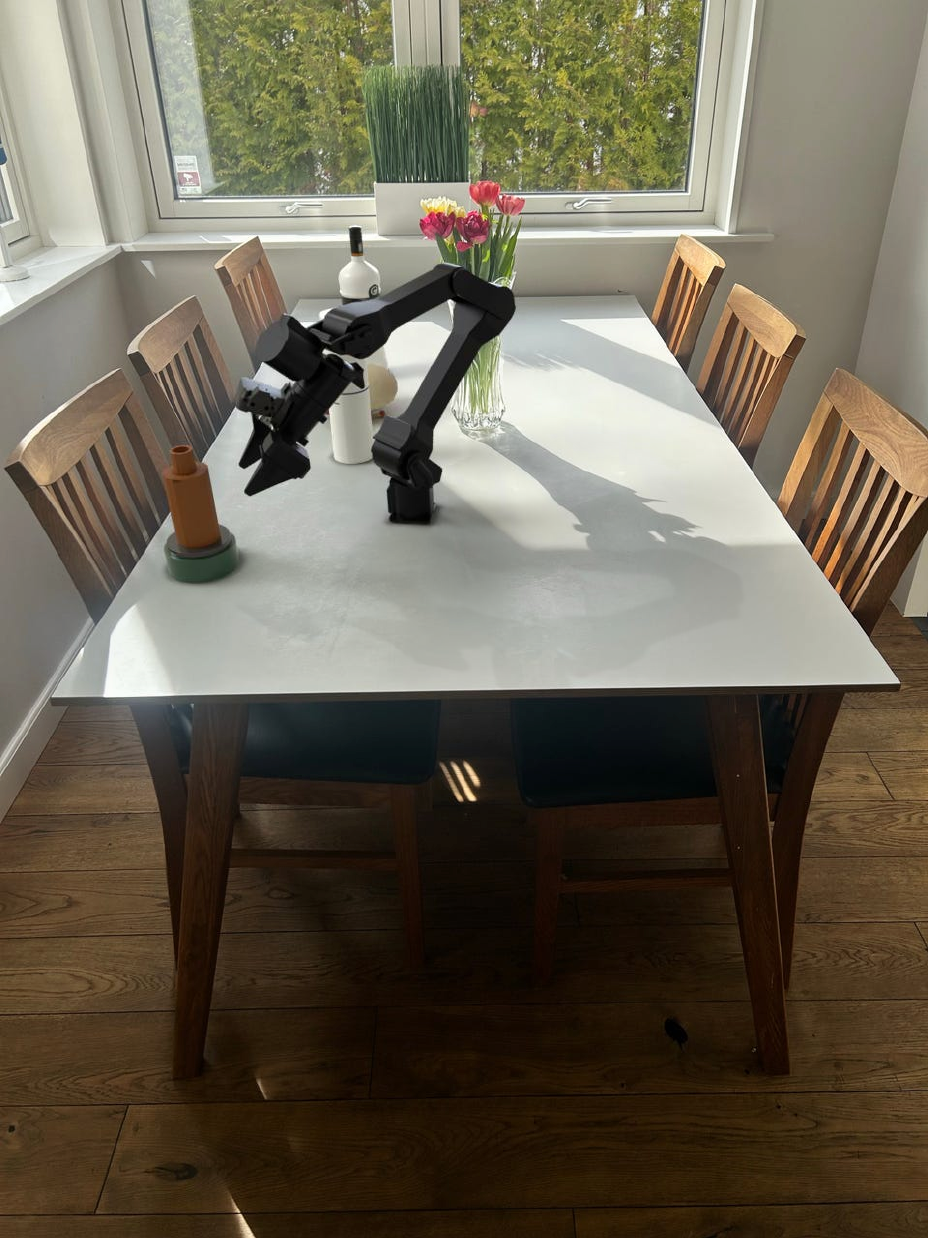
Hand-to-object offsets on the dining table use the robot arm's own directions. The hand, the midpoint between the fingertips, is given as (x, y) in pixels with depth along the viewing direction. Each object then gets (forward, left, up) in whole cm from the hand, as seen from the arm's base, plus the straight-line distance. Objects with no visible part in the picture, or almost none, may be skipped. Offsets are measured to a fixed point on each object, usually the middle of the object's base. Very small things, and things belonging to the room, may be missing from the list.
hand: (243, 480), depth 132 cm
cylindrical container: (-5, -37, -12) cm, 39 cm away
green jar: (+7, +3, -12) cm, 14 cm away
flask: (0, -56, -12) cm, 57 cm away
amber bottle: (+7, +3, -8) cm, 11 cm away
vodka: (+3, -79, -12) cm, 80 cm away
